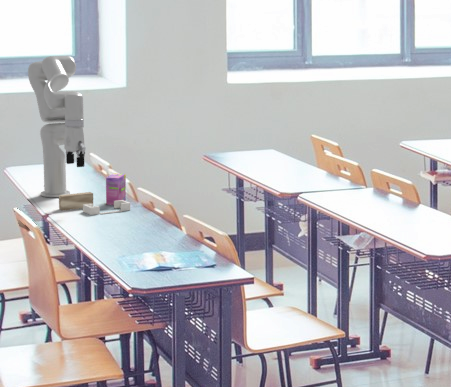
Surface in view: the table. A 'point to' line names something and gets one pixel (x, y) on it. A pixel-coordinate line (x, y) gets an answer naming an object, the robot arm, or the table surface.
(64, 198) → the slat
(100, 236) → the table surface
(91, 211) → the endcaps
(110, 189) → the box
